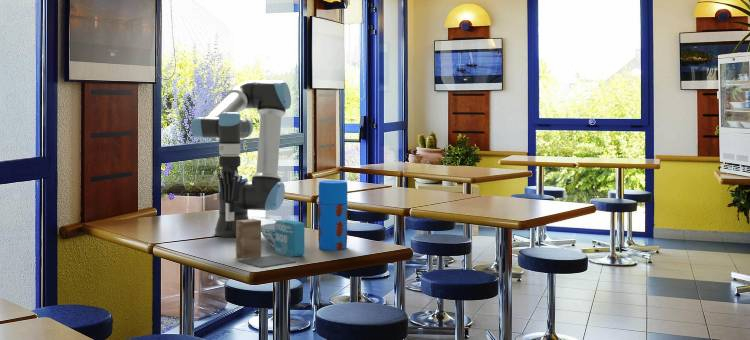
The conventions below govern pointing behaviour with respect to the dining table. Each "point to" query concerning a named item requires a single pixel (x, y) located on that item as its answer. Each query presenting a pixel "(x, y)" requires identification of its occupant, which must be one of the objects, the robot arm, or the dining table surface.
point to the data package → (289, 238)
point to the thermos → (332, 215)
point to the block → (248, 238)
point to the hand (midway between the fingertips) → (230, 220)
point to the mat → (266, 261)
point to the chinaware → (269, 233)
